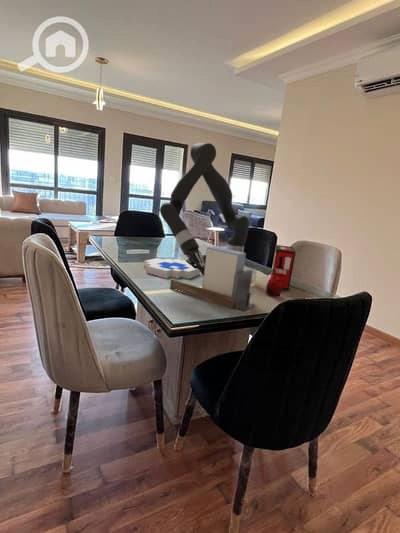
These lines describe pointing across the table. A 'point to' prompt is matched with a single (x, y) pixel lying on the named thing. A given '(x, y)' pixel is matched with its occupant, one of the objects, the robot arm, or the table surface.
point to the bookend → (241, 290)
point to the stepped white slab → (170, 268)
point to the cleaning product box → (283, 265)
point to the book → (222, 269)
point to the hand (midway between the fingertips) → (206, 275)
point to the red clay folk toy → (274, 286)
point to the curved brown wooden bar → (204, 293)
